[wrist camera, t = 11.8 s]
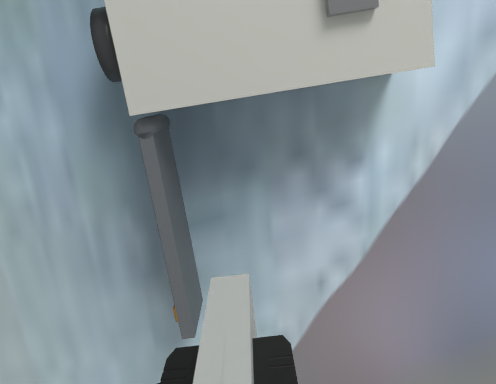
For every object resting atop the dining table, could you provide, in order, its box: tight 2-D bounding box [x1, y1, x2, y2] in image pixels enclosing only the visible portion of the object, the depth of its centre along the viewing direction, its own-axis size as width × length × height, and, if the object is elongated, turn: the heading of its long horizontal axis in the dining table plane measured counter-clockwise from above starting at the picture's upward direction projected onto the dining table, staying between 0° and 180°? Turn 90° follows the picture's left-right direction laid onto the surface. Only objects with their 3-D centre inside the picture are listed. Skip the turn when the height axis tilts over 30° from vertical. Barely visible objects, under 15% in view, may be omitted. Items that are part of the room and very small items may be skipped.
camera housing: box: [90, 0, 435, 116], centre depth 29 cm, size 22×10×9 cm, turn 99°
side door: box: [134, 114, 203, 339], centre depth 33 cm, size 17×2×6 cm, turn 9°
